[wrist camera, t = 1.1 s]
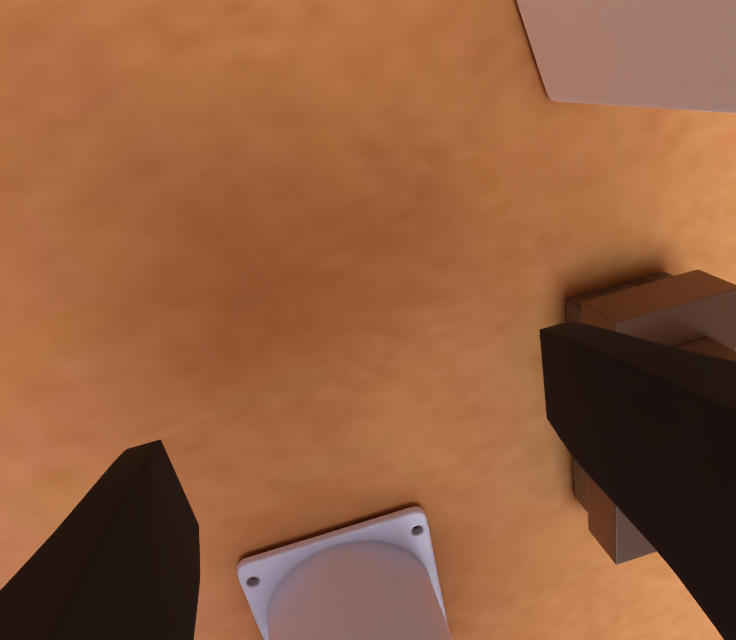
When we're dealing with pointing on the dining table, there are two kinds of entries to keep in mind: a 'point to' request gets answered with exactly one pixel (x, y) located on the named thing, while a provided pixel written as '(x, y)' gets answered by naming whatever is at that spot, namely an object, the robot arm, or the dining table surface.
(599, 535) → the brush
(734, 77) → the milk carton
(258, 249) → the dining table surface
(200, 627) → the dining table surface
